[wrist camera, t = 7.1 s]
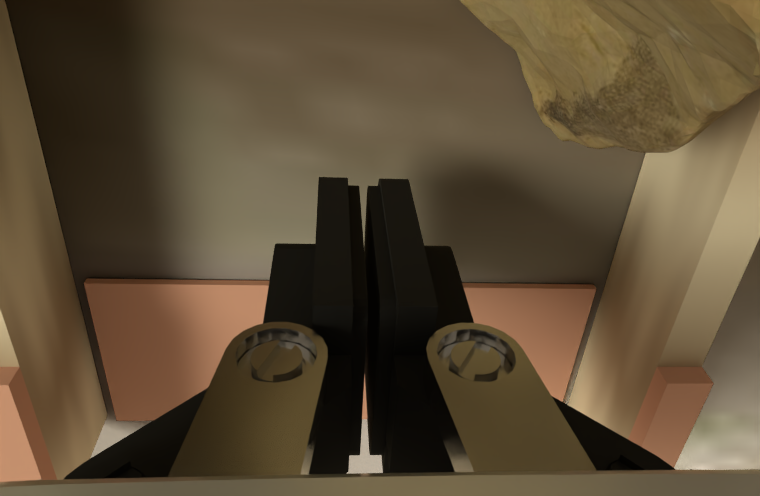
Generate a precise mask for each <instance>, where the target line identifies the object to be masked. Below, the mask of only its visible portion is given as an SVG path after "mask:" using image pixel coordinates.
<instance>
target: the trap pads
mask: <svg viewBox="0 0 760 496" xmlns="http://www.w3.org/2000/svg"><path fill="white" fill-rule="evenodd" d="M462 285H463V288H464V291H465V294H466V298H467V301H468V304H469V308H470V311H471V314H472V317H473V321H474V323H478V324H483V325H487V326H491V327H493V328H496V329H498V330H501V331H503V332H505V333H506V334H507V335H509V336H510V337H512V338H513V339H515V340H516V342H517V343H518V344H519V345H520V346H521V348H522V349H523V350H524V352H525V353H526V355H527V357H528V358H529V360H530V362H531V363H532V365H533V367H534V368H535V370H536V372H537V373H538V375H539V376H540V378H541V380H542V381H543V383H544V385H545V386H546V388H547V390H548V391H549V393H550V395H551V396H553V397H555V398H556V399H558V400H560V401H562V402H563V398H564V395H565V392H566V388H567V385H568V382H569V379H570V375H571V372H572V369H573V365H574V362H575V359H576V355H577V352H578V349H579V345H580V342H581V339H582V336H583V332H584V329H585V326H586V322H587V319H588V316H589V312H590V309H591V306H592V302H593V299H594V296H595V293H596V287H595V286H594V284H510V283H462ZM84 286H85V290H86V294H87V299H88V303H89V307H90V311H91V315H92V320H93V324H94V328H95V332H96V336H97V341H98V345H99V349H100V353H101V357H102V362H103V366H104V370H105V374H106V378H107V383H108V387H109V391H110V395H111V400H112V404H113V408H114V412H115V416H116V421H141V420H155V419H157V418H159V417H160V416H162V415H163V414H165V413H167V412H168V411H170V410H172V409H173V408H175V407H177V406H178V405H180V404H182V403H183V402H185V401H187V400H188V399H190V398H192V397H193V396H195V395H197V394H198V393H200V392H202V391H203V390H205V389H207V388H208V387H209V385H210V382H211V380H212V378H213V376H214V374H215V371H216V369H217V367H218V365H219V363H220V360H221V358H222V356H223V354H224V352H225V349H226V348H227V346H228V345H229V343H230V342H231V341H232V339H233V338H234V337H236V336H237V335H238V334H240V333H241V332H242V331H244V330H246V329H248V328H251V327H253V326H256V325H259V324H263V320H264V313H265V307H266V300H267V294H268V287H269V281H255V280H170V279H86V281H85V282H84ZM713 384H714V383H713V382H712V381H711V379H710V378H709V376H708V375H707V374H706V372H705V371H704V369H703V368H702V367H657V368H656V371H655V373H654V376H653V378H652V381H651V383H650V386H649V388H648V391H647V393H646V396H645V398H644V401H643V403H642V406H641V408H640V411H639V413H638V416H637V418H636V421H635V423H634V426H633V428H632V431H631V433H630V436H629V438H628V440H630V441H632V442H634V443H635V444H637V445H639V446H641V447H642V448H644V449H646V450H648V451H649V452H651V453H653V454H655V455H656V456H658V457H659V458H661V459H662V460H664V461H665V462H666V463H668V464H669V465H671V466H672V467H673V468H674V466H675V464H676V462H677V460H678V458H679V456H680V454H681V451H682V449H683V447H684V445H685V443H686V441H687V439H688V437H689V435H690V432H691V430H692V428H693V426H694V424H695V422H696V420H697V418H698V416H699V413H700V411H701V409H702V407H703V405H704V403H705V401H706V399H707V397H708V394H709V392H710V390H711V388H712V386H713ZM362 419H367V403H366V386H365V375H364V392H363V409H362ZM39 479H42V480H57V477H56V474H55V471H54V468H53V465H52V462H51V459H50V456H49V453H48V450H47V447H46V444H45V441H44V438H43V435H42V432H41V429H40V426H39V423H38V420H37V417H36V414H35V411H34V408H33V405H32V402H31V399H30V396H29V393H28V390H27V387H26V384H25V381H24V378H23V375H22V372H21V369H20V367H0V482H7V481H25V480H39Z"/></svg>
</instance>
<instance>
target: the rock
mask: <svg viewBox="0 0 760 496" xmlns="http://www.w3.org/2000/svg"><path fill="white" fill-rule="evenodd" d="M460 1H461V2H462V3H463V4H464V5H465V6H466V7H467V8H468V9H469V10H470V11H471V12H472V13H473V14H474V15H475V16H476V17H477V18H478V19H479V20H480V21H481V22H482V23H483V24H484V25H485V26H486V27H487V28H488V29H490V30H491V31H492V32H494V33H495V34H497V35H498V36H499V37H500V38H501V39H502V40H503V41H504V42H506V43H507V44H508V45H510V46H511V47H512V48H513V49H514V50H515V51H516V52H517V55H518V57H519V60H520V63H521V67H522V72H523V75H524V78H525V80H526V82H527V84H528V87H529V89H530V91H531V93H532V98H533V103H534V106H535V108H536V110H537V112H538V114H539V116H540V118H541V120H542V122H543V123H544V124H545V125H546V126H547V127H550V129H551V130H552V131H553V132H554V133H555V134H556V136H557V137H558V138H559V139H560V140H562V141H569V140H571V141H575V142H577V143H580V144H582V145H585V146H587V147H589V148H595V149H603V148H608V147H613V146H619V147H623V148H626V149H628V150H631V151H636V152H643V153H668V152H672V151H674V150H677V149H679V148H680V147H682V146H684V145H685V144H687V143H689V142H690V141H692V140H693V139H694V138H695V137H696V136H698V135H699V134H700V133H701V132H702V131H704V130H705V129H706V128H707V127H708V126H710V125H711V124H712V123H713V122H714V121H716V120H717V119H718V118H720V117H721V116H722V115H724V114H725V113H726V112H728V111H729V110H730V109H731V108H733V107H734V106H735V105H737V104H738V103H739V102H741V101H742V100H743V99H744V98H746V97H747V96H748V95H749V94H751V93H752V92H754V91H756V90H758V89H759V88H760V0H460Z"/></svg>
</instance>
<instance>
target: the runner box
mask: <svg viewBox="0 0 760 496" xmlns="http://www.w3.org/2000/svg"><path fill="white" fill-rule="evenodd" d="M759 238H760V88H759V89H758V90H756V91H754V92H752V93H751V94H749V95H748V96H747V97H746V98H744V99H743V100H742V101H741V102H739V103H738V104H737V105H735V106H734V107H733V108H731V109H730V110H729V111H728V112H726V113H725V114H724V115H722V116H721V117H720V118H718V119H717V120H716V121H714V122H713V123H712V124H711V125H710V126H708V127H707V128H706V129H705V130H704V131H702V132H701V133H700V134H699V135H698V136H696V137H695V138H694V139H693V140H692V141H690V142H689V143H687V144H685V145H684V146H682V147H680V148H679V149H677V150H674V151H672V152H668V153H646V154H645V158H644V161H643V164H642V167H641V170H640V174H639V177H638V180H637V183H636V187H635V190H634V193H633V196H632V199H631V203H630V206H629V209H628V212H627V216H626V219H625V222H624V225H623V229H622V232H621V235H620V238H619V241H618V245H617V248H616V251H615V254H614V258H613V261H612V264H611V267H610V270H609V274H608V277H607V280H606V283H605V287H604V290H603V293H602V296H601V300H600V303H599V306H598V309H597V312H596V316H595V319H594V322H593V325H592V329H591V332H590V335H589V338H588V341H587V345H586V348H585V351H584V354H583V358H582V361H581V364H580V367H579V371H578V374H577V377H576V380H575V383H574V387H573V390H572V393H571V396H570V400H569V403H568V405H569V406H570V407H572V408H574V409H576V410H577V411H579V412H581V413H583V414H584V415H586V416H588V417H590V418H591V419H593V420H595V421H597V422H598V423H600V424H602V425H604V426H605V427H607V428H609V429H611V430H612V431H614V432H616V433H618V434H620V435H621V436H623V437H625V438H627V439H628V438H629V436H630V433H631V431H632V428H633V426H634V423H635V421H636V418H637V416H638V413H639V411H640V408H641V406H642V403H643V401H644V398H645V396H646V393H647V391H648V388H649V386H650V383H651V381H652V378H653V376H654V373H655V371H656V368H657V367H702V365H703V363H704V360H705V358H706V356H707V354H708V352H709V349H710V347H711V345H712V343H713V340H714V338H715V336H716V334H717V332H718V329H719V327H720V325H721V323H722V320H723V318H724V316H725V314H726V312H727V309H728V307H729V305H730V303H731V300H732V298H733V296H734V294H735V292H736V289H737V287H738V285H739V283H740V280H741V278H742V276H743V274H744V272H745V269H746V267H747V265H748V263H749V260H750V258H751V256H752V254H753V252H754V249H755V247H756V245H757V243H758V240H759ZM0 367H20V369H21V372H22V375H23V378H24V381H25V384H26V387H27V390H28V393H29V396H30V399H31V402H32V405H33V408H34V411H35V414H36V417H37V420H38V423H39V426H40V429H41V432H42V435H43V438H44V441H45V444H46V447H47V450H48V453H49V456H50V459H51V462H52V465H53V468H54V471H55V474H56V477H57V480H63V479H64V478H65V477H66V476H67V475H68V474H69V473H71V472H72V471H73V470H75V469H76V468H77V467H78V466H80V465H81V464H82V463H84V462H86V461H87V460H89V459H90V457H91V455H92V452H93V450H94V447H95V445H96V442H97V440H98V437H99V435H100V432H101V430H102V427H103V425H104V422H105V420H106V417H107V412H106V407H105V403H104V399H103V395H102V391H101V387H100V383H99V379H98V375H97V371H96V367H95V363H94V359H93V355H92V351H91V347H90V343H89V339H88V335H87V331H86V327H85V322H84V318H83V314H82V310H81V306H80V302H79V298H78V294H77V290H76V286H75V282H74V278H73V274H72V270H71V266H70V262H69V258H68V254H67V250H66V246H65V242H64V237H63V233H62V229H61V225H60V221H59V217H58V213H57V209H56V205H55V201H54V197H53V193H52V189H51V185H50V181H49V177H48V173H47V169H46V165H45V161H44V157H43V152H42V148H41V144H40V140H39V136H38V132H37V128H36V124H35V120H34V116H33V112H32V108H31V104H30V100H29V96H28V92H27V88H26V84H25V80H24V76H23V72H22V67H21V63H20V59H19V55H18V51H17V47H16V43H15V39H14V35H13V31H12V27H11V23H10V19H9V15H8V11H7V7H6V3H5V0H0Z"/></svg>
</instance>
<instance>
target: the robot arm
mask: <svg viewBox="0 0 760 496" xmlns="http://www.w3.org/2000/svg"><path fill="white" fill-rule="evenodd" d="M364 375H365V386H366V403H367V420H368V436H369V452H370V455H382V466H383V473H364V474H346V473H347V472H348V467H349V455H360V444H361V426H362V409H363V392H364ZM0 496H760V470H755V469H750V470H691V469H690V470H675V469H674V468H673V467H672V466H671V465H669V464H668V463H666V462H665V461H664V460H662V459H661V458H659V457H658V456H656V455H655V454H653V453H651V452H649V451H648V450H646V449H644V448H642V447H641V446H639V445H637V444H635V443H634V442H632V441H630V440H628V439H627V438H625V437H623V436H621V435H620V434H618V433H616V432H614V431H612V430H611V429H609V428H607V427H605V426H604V425H602V424H600V423H598V422H597V421H595V420H593V419H591V418H590V417H588V416H586V415H584V414H583V413H581V412H579V411H577V410H576V409H574V408H572V407H570V406H569V405H567V404H565V403H563V402H562V401H560V400H558V399H556V398H555V397H553V396H551V395H550V393H549V391H548V390H547V388H546V386H545V385H544V383H543V381H542V380H541V378H540V376H539V375H538V373H537V372H536V370H535V368H534V367H533V365H532V363H531V362H530V360H529V358H528V357H527V355H526V353H525V352H524V350H523V349H522V348H521V346H520V345H519V344H518V343H517V342H516V340H515V339H513V338H512V337H510V336H509V335H507V334H506V333H505V332H503V331H501V330H498V329H496V328H493V327H491V326H487V325H483V324H478V323H474V321H473V317H472V314H471V311H470V308H469V304H468V301H467V298H466V294H465V291H464V288H463V285H462V281H461V278H460V275H459V271H458V268H457V265H456V262H455V258H454V255H453V252H452V249H451V247H449V246H424V244H423V239H422V235H421V231H420V227H419V222H418V218H417V214H416V210H415V205H414V201H413V197H412V192H411V188H410V184H409V180H408V179H379V183H378V186H368V189H367V205H366V225H365V245H364V244H363V231H362V218H361V205H360V192H359V186H348V178H330V177H319V185H318V205H317V226H316V244H275V249H274V255H273V261H272V268H271V274H270V281H269V287H268V294H267V300H266V307H265V313H264V320H263V324H259V325H256V326H253V327H251V328H248V329H246V330H244V331H242V332H241V333H240V334H238V335H237V336H236V337H234V338H233V339H232V341H231V342H230V343H229V345H228V346H227V348H226V349H225V352H224V354H223V356H222V358H221V360H220V363H219V365H218V367H217V369H216V371H215V374H214V376H213V378H212V380H211V382H210V385H209V387H208V388H207V389H205V390H203V391H202V392H200V393H198V394H197V395H195V396H193V397H192V398H190V399H188V400H187V401H185V402H183V403H182V404H180V405H178V406H177V407H175V408H173V409H172V410H170V411H168V412H167V413H165V414H163V415H162V416H160V417H159V418H157V419H155V420H154V421H152V422H150V423H149V424H147V425H145V426H144V427H142V428H140V429H139V430H137V431H135V432H134V433H132V434H130V435H129V436H127V437H125V438H124V439H122V440H120V441H119V442H117V443H115V444H114V445H112V446H111V447H109V448H107V449H106V450H104V451H102V452H101V453H99V454H97V455H96V456H94V457H92V458H91V459H89V460H87V461H86V462H84V463H82V464H81V465H80V466H78V467H77V468H76V469H75V470H73V471H72V472H71V473H69V474H68V475H67V476H66V477H65V478H64V479H63V480H42V479H39V480H25V481H7V482H0Z"/></svg>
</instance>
